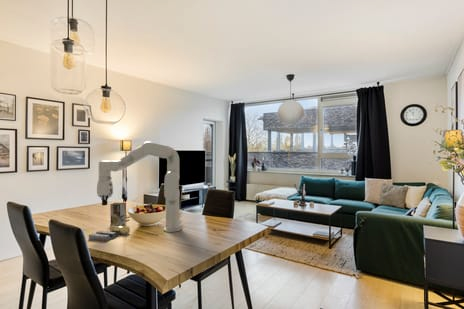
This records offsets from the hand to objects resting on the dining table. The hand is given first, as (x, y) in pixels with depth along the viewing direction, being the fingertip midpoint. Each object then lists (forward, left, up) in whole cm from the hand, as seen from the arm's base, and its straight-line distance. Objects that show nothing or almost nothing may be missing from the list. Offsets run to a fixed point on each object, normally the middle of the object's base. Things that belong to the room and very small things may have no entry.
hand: (104, 205), depth 177 cm
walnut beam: (0, +12, -19) cm, 22 cm away
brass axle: (0, +12, -19) cm, 22 cm away
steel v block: (+11, +8, -19) cm, 23 cm away
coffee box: (-18, -4, -19) cm, 26 cm away
